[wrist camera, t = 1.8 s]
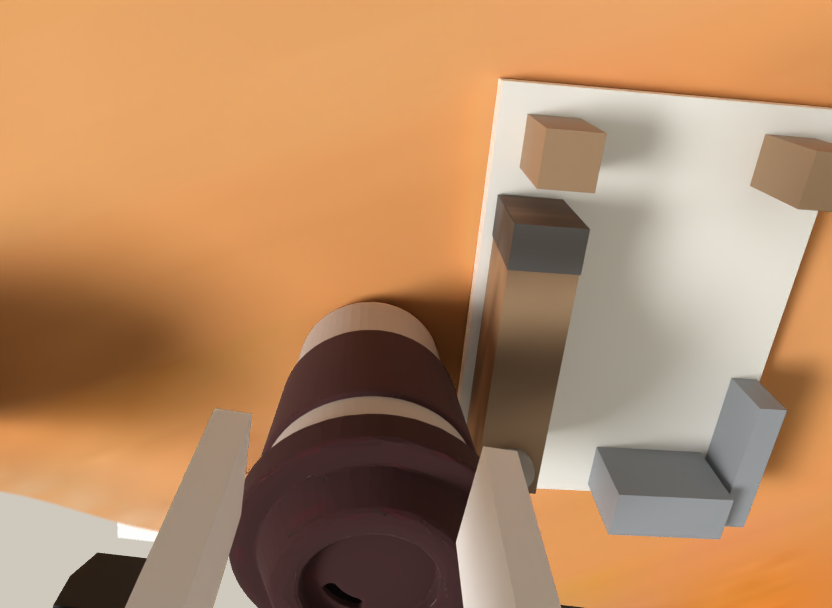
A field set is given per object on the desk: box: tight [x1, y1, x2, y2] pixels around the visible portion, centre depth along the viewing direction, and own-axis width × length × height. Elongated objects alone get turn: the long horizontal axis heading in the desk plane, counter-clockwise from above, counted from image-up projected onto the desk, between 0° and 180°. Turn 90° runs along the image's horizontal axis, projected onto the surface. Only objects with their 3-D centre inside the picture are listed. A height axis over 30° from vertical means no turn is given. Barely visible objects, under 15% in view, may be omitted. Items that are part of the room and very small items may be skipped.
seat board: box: [457, 78, 832, 539], centre depth 32 cm, size 22×16×5 cm
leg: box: [467, 194, 590, 494], centre depth 31 cm, size 14×3×5 cm, turn 175°
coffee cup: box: [229, 302, 480, 608], centre depth 28 cm, size 10×10×15 cm
